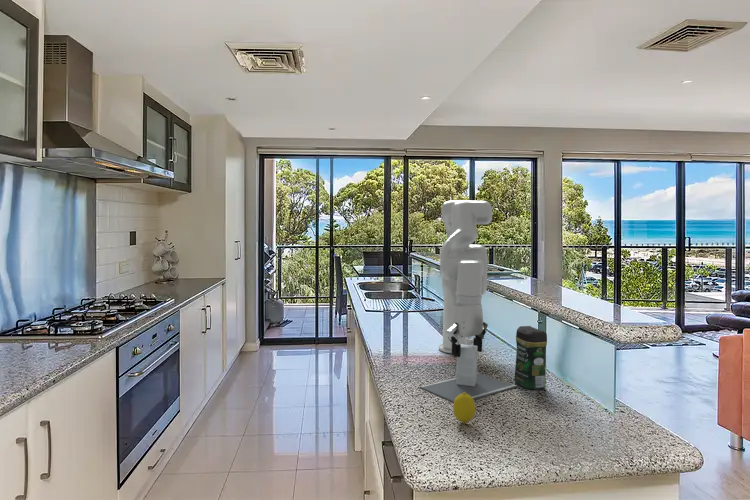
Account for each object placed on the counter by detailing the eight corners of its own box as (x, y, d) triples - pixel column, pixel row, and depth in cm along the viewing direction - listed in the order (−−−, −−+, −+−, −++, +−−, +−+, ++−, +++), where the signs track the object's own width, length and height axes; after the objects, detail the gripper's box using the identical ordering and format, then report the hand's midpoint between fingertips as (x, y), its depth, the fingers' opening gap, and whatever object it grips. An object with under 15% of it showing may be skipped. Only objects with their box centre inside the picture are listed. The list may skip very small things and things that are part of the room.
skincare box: (477, 382, 152) (478, 345, 152) (475, 387, 148) (476, 348, 148) (457, 380, 155) (459, 343, 154) (455, 384, 151) (456, 346, 150)
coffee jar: (510, 381, 156) (512, 324, 155) (531, 379, 158) (533, 323, 157) (527, 391, 147) (529, 331, 146) (549, 389, 149) (552, 330, 148)
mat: (477, 373, 163) (478, 372, 163) (516, 387, 150) (516, 385, 150) (420, 387, 148) (420, 386, 148) (457, 404, 135) (457, 402, 135)
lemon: (450, 419, 125) (451, 388, 124) (471, 418, 125) (472, 388, 125) (455, 428, 119) (456, 396, 119) (477, 427, 120) (478, 396, 119)
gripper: (478, 295, 158) (476, 346, 160) (440, 300, 148) (438, 354, 150) (496, 299, 152) (494, 351, 154) (457, 305, 142) (455, 361, 144)
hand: (466, 353), depth 152 cm, fingers open, 9 cm apart
